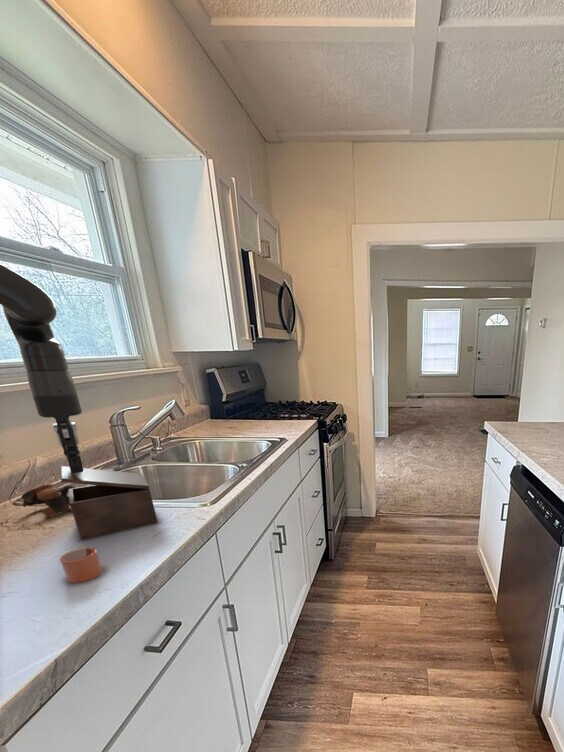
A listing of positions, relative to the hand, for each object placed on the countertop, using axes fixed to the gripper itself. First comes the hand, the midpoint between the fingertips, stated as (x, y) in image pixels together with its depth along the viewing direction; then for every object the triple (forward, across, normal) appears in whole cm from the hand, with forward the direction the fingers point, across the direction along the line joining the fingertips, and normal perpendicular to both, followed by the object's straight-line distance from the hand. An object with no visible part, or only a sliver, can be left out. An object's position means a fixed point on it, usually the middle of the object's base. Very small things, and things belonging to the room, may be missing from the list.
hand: (77, 469), depth 92 cm
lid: (+3, 0, -5) cm, 6 cm away
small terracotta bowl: (+15, -25, +3) cm, 29 cm away
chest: (+15, 0, -5) cm, 15 cm away
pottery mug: (+15, +20, +8) cm, 26 cm away
